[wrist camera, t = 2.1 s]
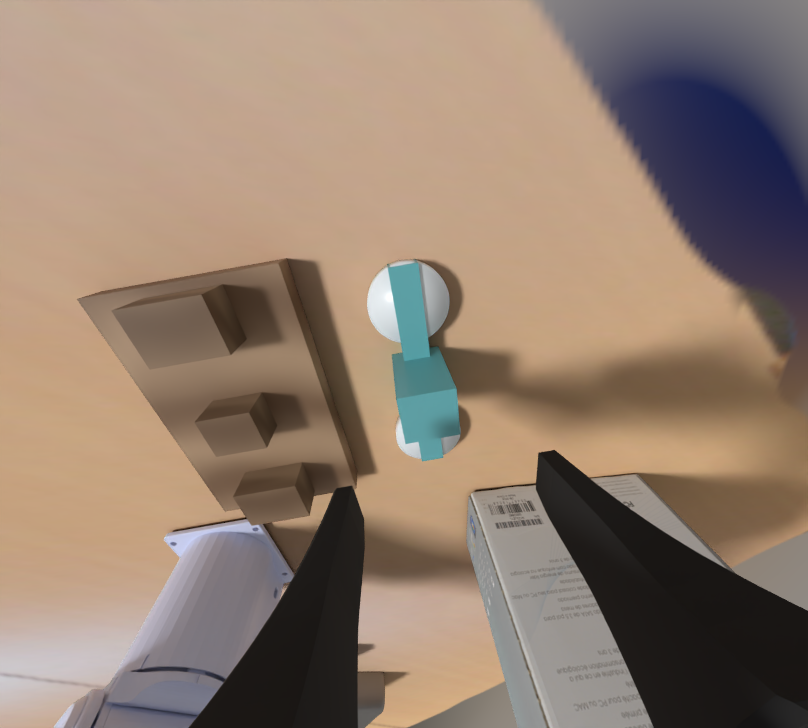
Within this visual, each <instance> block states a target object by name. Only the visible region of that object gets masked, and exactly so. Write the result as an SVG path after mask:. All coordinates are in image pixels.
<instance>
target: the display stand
mask: <svg viewBox="0 0 808 728" xmlns="http://www.w3.org/2000/svg"><path fill="white" fill-rule="evenodd" d="M77 300H78V301H79V303H80V304H81V306H82V307H83V309H84V310H85V311H86V313H87V314H88V316H89V317H90V319H91V320H92V321H93V323H94V324H95V326H96V327H97V329H98V330H99V332H100V333H101V334H102V336H103V337H104V339H105V340H106V342H107V343H108V344H109V346H110V347H111V349H112V350H113V352H114V353H115V354H116V356H117V357H118V359H119V360H120V362H121V363H122V365H123V366H124V367H125V369H126V370H127V372H128V373H129V375H130V376H131V377H132V379H133V380H134V382H135V383H136V385H137V386H138V387H139V389H140V390H141V392H142V393H143V395H144V396H145V398H146V399H147V400H148V402H149V403H150V405H151V406H152V408H153V409H154V410H155V412H156V413H157V415H158V416H159V418H160V419H161V421H162V422H163V423H164V425H165V426H166V428H167V429H168V431H169V432H170V433H171V435H172V436H173V438H174V439H175V441H176V442H177V443H178V445H179V446H180V448H181V449H182V451H183V452H184V454H185V455H186V456H187V458H188V459H189V461H190V462H191V464H192V465H193V466H194V468H195V469H196V471H197V472H198V474H199V475H200V476H201V478H202V479H203V481H204V482H205V484H206V485H207V487H208V488H209V489H210V491H211V492H212V494H213V495H214V497H215V498H216V499H217V501H218V502H219V504H220V505H221V507H222V508H223V510H224V511H231V510H237V509H241V510H242V512H243V513H244V515H245V516H246V518H247V520H248V521H249V523H250V524H251V526H254V525H259V524H265V523H271V522H277V521H282V520H288V519H294V518H299V517H305V516H309V515H310V510H311V506H312V501H313V497H314V496H316V495H322V494H328V493H334V491H335V489H336V488H341V487H346V486H353V489H356V485H357V470H356V467H355V464H354V461H353V458H352V455H351V452H350V449H349V446H348V443H347V440H346V437H345V434H344V431H343V428H342V425H341V422H340V418H339V415H338V412H337V409H336V406H335V403H334V400H333V397H332V394H331V391H330V388H329V385H328V382H327V379H326V376H325V373H324V370H323V367H322V364H321V361H320V358H319V355H318V352H317V349H316V346H315V343H314V340H313V337H312V334H311V331H310V328H309V325H308V322H307V319H306V316H305V313H304V310H303V307H302V303H301V300H300V297H299V294H298V291H297V288H296V285H295V282H294V279H293V276H292V273H291V270H290V267H289V264H288V261H287V258H286V259H281V260H275V261H270V262H264V263H258V264H253V265H247V266H241V267H236V268H230V269H225V270H219V271H213V272H208V273H202V274H197V275H191V276H185V277H180V278H174V279H169V280H163V281H157V282H152V283H146V284H141V285H135V286H129V287H124V288H118V289H113V290H107V291H102V292H98V293H95V294H92V295H89V296H85V297H82V298H79V299H77Z"/></svg>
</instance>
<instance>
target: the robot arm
mask: <svg viewBox="0 0 808 728" xmlns="http://www.w3.org/2000/svg"><path fill="white" fill-rule="evenodd" d="M536 491H537V493H538V496H539V498H540V500H541V502H542V505H543V507H544V509H545V511H546V513H547V516H548V517H549V519H550V521H551V523H552V524H553V526H554V528H555V530H556V531H557V533H558V535H559V537H560V538H561V540H562V542H563V543H564V545H565V547H566V548H567V550H568V552H569V554H570V555H571V557H572V559H573V560H574V562H575V564H576V566H577V567H578V569H579V571H580V572H581V574H582V576H583V577H584V579H585V581H586V583H587V585H588V587H589V588H590V590H591V592H592V594H593V596H594V598H595V600H596V602H597V604H598V606H599V608H600V610H601V612H602V614H603V616H604V619H605V621H606V623H607V625H608V627H609V629H610V631H611V633H612V635H613V638H614V640H615V642H616V644H617V646H618V648H619V650H620V653H621V655H622V657H623V659H624V661H625V663H626V666H627V668H628V670H629V672H630V675H631V677H632V679H633V681H634V684H635V686H636V688H637V690H638V693H639V695H640V697H641V699H642V702H643V704H644V706H645V708H646V711H647V713H648V716H649V718H650V720H651V723H652V725H653V728H808V611H807V610H805V609H803V608H801V607H799V606H797V605H795V604H793V603H791V602H789V601H787V600H785V599H783V598H781V597H779V596H777V595H775V594H773V593H771V592H769V591H767V590H765V589H763V588H761V587H759V586H757V585H756V584H754V583H752V582H750V581H748V580H746V579H744V578H742V577H741V576H739V575H737V574H735V573H733V572H732V571H730V570H728V569H726V568H724V567H723V566H721V565H719V564H717V563H716V562H714V561H712V560H710V559H708V558H707V557H705V556H703V555H701V554H700V553H698V552H696V551H694V550H693V549H691V548H689V547H688V546H686V545H684V544H683V543H681V542H680V541H678V540H676V539H675V538H673V537H672V536H670V535H668V534H667V533H665V532H664V531H662V530H661V529H659V528H658V527H656V526H655V525H653V524H652V523H650V522H649V521H647V520H646V519H644V518H643V517H641V516H640V515H638V514H637V513H636V512H634V511H633V510H631V509H630V508H628V507H627V506H626V505H624V504H623V503H622V502H620V501H619V500H617V499H616V498H615V497H613V496H612V495H611V494H610V493H608V492H607V491H606V490H604V489H603V488H602V487H600V486H599V485H598V484H596V483H595V482H594V481H593V480H591V479H590V478H589V477H587V476H586V475H585V474H584V473H582V472H581V471H580V470H579V469H577V468H576V467H575V466H574V465H573V464H571V463H570V462H569V461H568V460H566V459H565V458H564V457H563V456H561V455H560V454H559V453H558V452H556V451H555V450H552V451H546V452H541V453H539V454H538V467H537V479H536ZM164 540H165V542H166V543H167V544H168V545H169V546H170V547H171V548H172V549H173V551H174V552H175V553H176V554H177V555H178V556H179V557H180V559H179V561H178V563H177V565H176V566H175V568H174V570H173V572H172V573H171V575H170V577H169V579H168V581H167V582H166V584H165V586H164V588H163V589H162V591H161V593H160V595H159V597H158V598H157V600H156V602H155V604H154V605H153V607H152V609H151V611H150V613H149V614H148V616H147V618H146V620H145V621H144V623H143V625H142V627H141V629H140V630H139V632H138V634H137V636H136V637H135V639H134V641H133V643H132V645H131V646H130V648H129V650H128V652H127V653H126V655H125V657H124V659H123V661H122V662H121V664H120V666H119V668H118V669H117V671H116V673H115V675H114V677H113V678H112V680H111V682H110V683H109V684H108V685H107V686H106V687H105V688H104V689H103V690H101V689H93V690H91V691H90V692H88V693H87V694H86V695H85V696H84V697H82V698H80V699H79V700H77V701H76V702H74V703H73V704H72V705H71V706H70V707H69V708H68V709H67V710H66V712H65V713H64V714H63V715H62V717H61V718H60V719H59V721H58V722H57V723H56V725H55V726H54V727H53V728H358V622H359V609H360V597H361V586H362V574H363V562H364V549H365V543H364V517H363V515H362V512H361V509H360V506H359V503H358V500H357V498H356V495H355V492H354V489H353V486H346V487H341V488H336V489H335V491H334V493H333V496H332V498H331V501H330V503H329V505H328V508H327V510H326V512H325V515H324V517H323V519H322V521H321V524H320V526H319V528H318V530H317V532H316V534H315V536H314V538H313V540H312V542H311V545H310V547H309V549H308V551H307V553H306V554H305V556H304V558H303V560H302V562H301V564H300V566H299V568H298V569H297V571H296V573H295V575H294V574H293V572H292V570H291V569H290V567H289V566H288V564H287V562H286V561H285V559H284V558H283V556H282V554H281V553H280V551H279V550H278V548H277V546H276V545H275V543H274V541H273V540H272V538H271V537H270V535H269V533H268V532H267V530H266V529H265V527H264V525H263V524H259V525H254V526H251V524H250V523H249V521H248V520H247V519H245V520H239V521H233V522H228V523H222V524H216V525H210V526H205V527H199V528H193V529H188V530H182V531H176V532H170V533H168V534H167V535H166V536H165V538H164ZM287 582H290V584H289V586H288V587H287V589H286V591H285V592H284V594H283V596H282V597H281V593H282V589H283V584H284V583H287ZM280 597H281V599H280Z"/></svg>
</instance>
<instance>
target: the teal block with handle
mask: <svg viewBox="0 0 808 728" xmlns="http://www.w3.org/2000/svg"><path fill="white" fill-rule="evenodd" d="M449 304H450V298H449V292H448V289H447V286H446V284H445V282H444V280H443V279H442V278H441V276H440V275H439V274H438V273H437V272H436V271H435V270H434V269H433V268H432V267H430V266H429V265H427V264H425V263H423V262H421V261H418V260H416V259H414V260H412V259H405V260H399V261H395V262H392V263H390V264H387V266H385V267H384V268H382V269H381V270H380V271H379V272H378V273H377V275H376V276H375V277H374V279H373V281H372V283H371V285H370V288H369V292H368V300H367V308H368V313H369V317H370V319H371V322H372V323H373V325H374V327H375V328H376V329H377V330H378V331H379V332H380V333H381V334H382V335H383V336H385V337H386V338H388V339H390V340H393V341H396V342H400V343H401V346H402V352H403V353H398V354H392V360H393V371H394V381H395V391H396V400H397V405H398V410H399V417H398V419H397V422H396V438H397V443H398V445H399V447H400V448H401V450H402V451H403V452H405V453H406V454H407V455H409V456H411V457H414V458H419V459H422V461H427V460H433V459H439V458H443V455H444V454H446V453H448V452H449V451H450V450H452V449H453V448H454V447H455V445H456V444H457V443H458V441H459V438H460V434H461V428H460V424H459V412H458V401H457V389H456V386H455V384H454V382H453V379H452V377H451V375H450V372H449V370H448V368H447V366H446V363H445V361H444V359H443V356H442V354H441V352H440V349H439V347H438V346H437V347H432V348H429V343H428V337H430V336H431V335H433V334H434V333H435V332H436V331H437V330H438V329H439V328H440V327H441V326H442V324H443V323H444V321H445V319H446V317H447V314H448V311H449Z"/></svg>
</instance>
